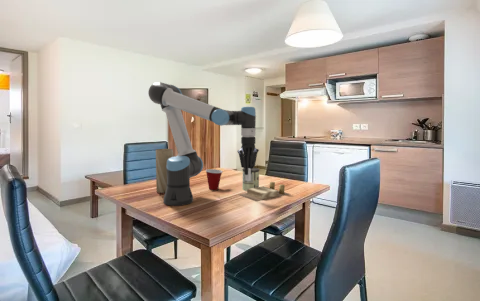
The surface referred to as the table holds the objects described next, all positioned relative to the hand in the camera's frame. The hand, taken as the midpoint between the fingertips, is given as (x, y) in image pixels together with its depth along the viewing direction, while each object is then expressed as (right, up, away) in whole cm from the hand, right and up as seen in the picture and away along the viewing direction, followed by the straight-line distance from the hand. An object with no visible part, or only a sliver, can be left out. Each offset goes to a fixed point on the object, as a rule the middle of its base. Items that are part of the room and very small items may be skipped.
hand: (248, 180), depth 145 cm
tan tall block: (-50, -8, +20) cm, 54 cm away
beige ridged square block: (+8, -9, +8) cm, 14 cm away
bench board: (+10, -10, +9) cm, 17 cm away
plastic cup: (-21, -8, +26) cm, 34 cm away
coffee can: (+2, -9, +21) cm, 23 cm away
